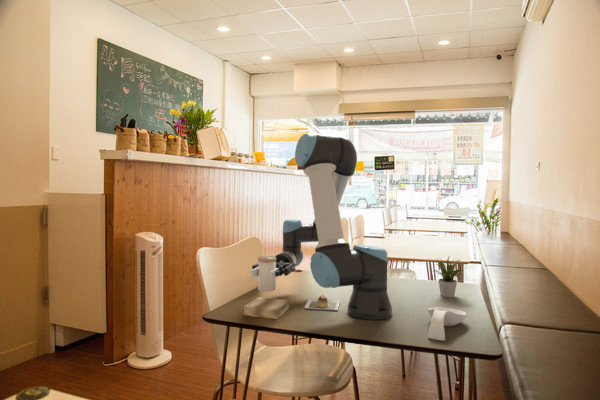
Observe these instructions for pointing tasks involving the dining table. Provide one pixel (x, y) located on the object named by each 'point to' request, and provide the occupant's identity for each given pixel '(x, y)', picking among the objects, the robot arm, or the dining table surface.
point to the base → (266, 308)
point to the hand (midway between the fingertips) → (261, 275)
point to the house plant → (448, 278)
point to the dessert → (322, 303)
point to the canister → (266, 273)
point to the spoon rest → (443, 321)
